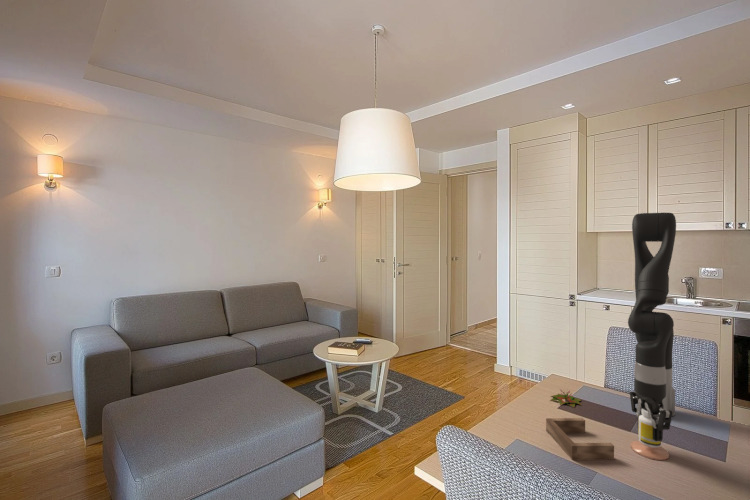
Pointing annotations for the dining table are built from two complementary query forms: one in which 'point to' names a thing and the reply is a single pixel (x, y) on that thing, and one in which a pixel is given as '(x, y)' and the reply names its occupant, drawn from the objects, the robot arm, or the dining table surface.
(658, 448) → the terracotta coaster
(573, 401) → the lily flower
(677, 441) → the dining table surface
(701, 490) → the dining table surface
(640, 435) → the supplement bottle
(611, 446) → the walnut cubby
